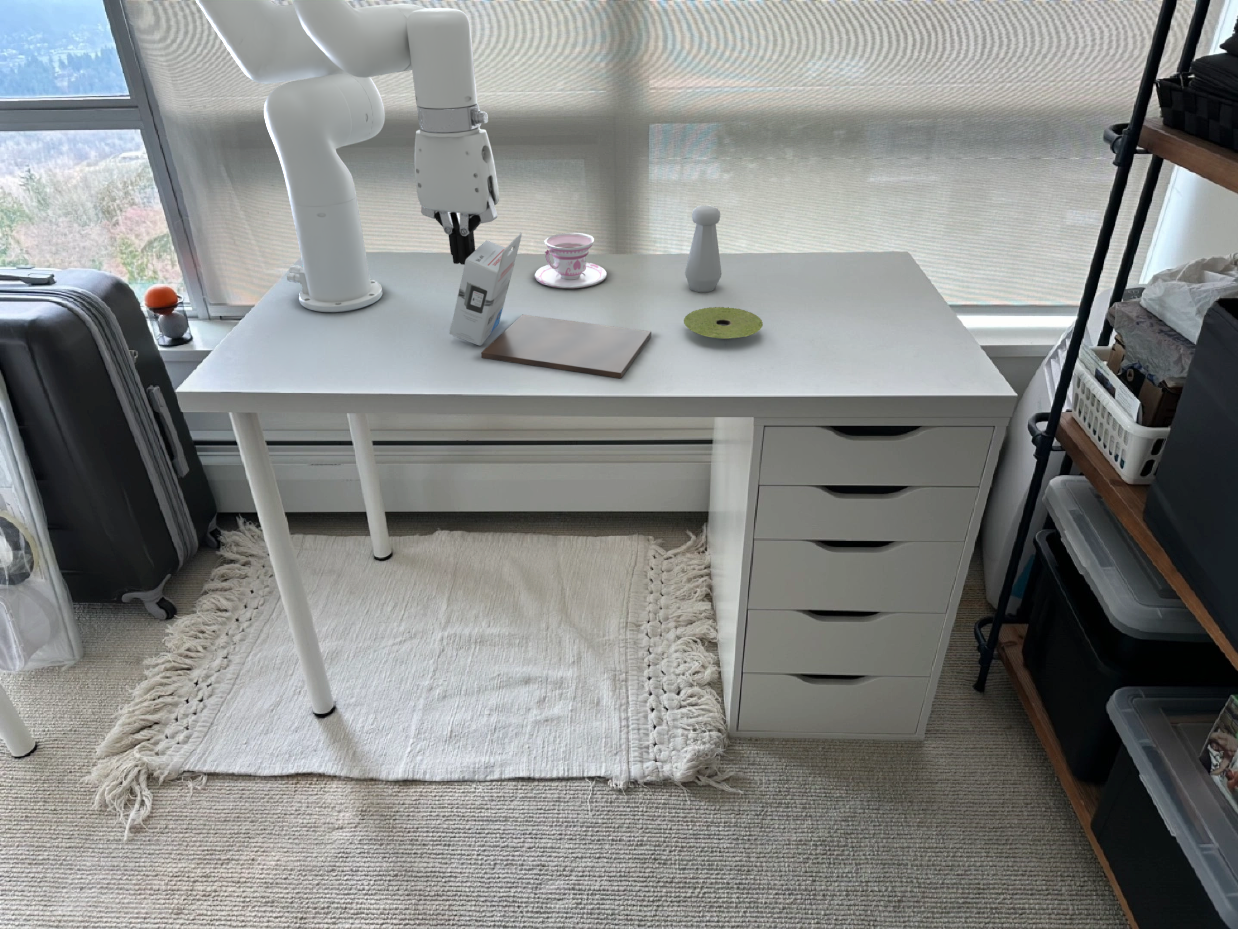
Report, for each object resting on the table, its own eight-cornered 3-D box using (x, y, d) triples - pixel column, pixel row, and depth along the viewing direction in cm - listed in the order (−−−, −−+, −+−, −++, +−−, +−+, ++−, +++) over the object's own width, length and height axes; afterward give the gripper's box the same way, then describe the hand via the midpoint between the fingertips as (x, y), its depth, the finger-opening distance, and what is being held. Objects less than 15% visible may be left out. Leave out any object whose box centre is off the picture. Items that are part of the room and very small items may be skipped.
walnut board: (481, 357, 117) (480, 352, 116) (522, 319, 128) (522, 314, 127) (621, 378, 111) (621, 372, 111) (651, 336, 123) (651, 331, 122)
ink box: (468, 311, 127) (490, 218, 118) (500, 323, 127) (523, 231, 118) (447, 334, 119) (469, 237, 111) (480, 347, 119) (504, 251, 111)
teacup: (575, 259, 150) (574, 224, 147) (621, 277, 143) (621, 241, 139) (520, 276, 143) (517, 239, 140) (566, 295, 136) (564, 257, 132)
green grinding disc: (743, 356, 117) (744, 343, 116) (669, 340, 122) (670, 327, 120) (773, 327, 125) (774, 315, 124) (703, 313, 130) (703, 301, 129)
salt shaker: (726, 285, 140) (732, 205, 133) (710, 296, 135) (715, 214, 128) (694, 278, 142) (698, 199, 135) (677, 289, 138) (681, 208, 131)
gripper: (515, 117, 109) (524, 257, 119) (411, 111, 113) (429, 247, 123) (489, 128, 103) (502, 275, 113) (381, 121, 107) (402, 264, 117)
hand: (463, 260), depth 118 cm, fingers closed
